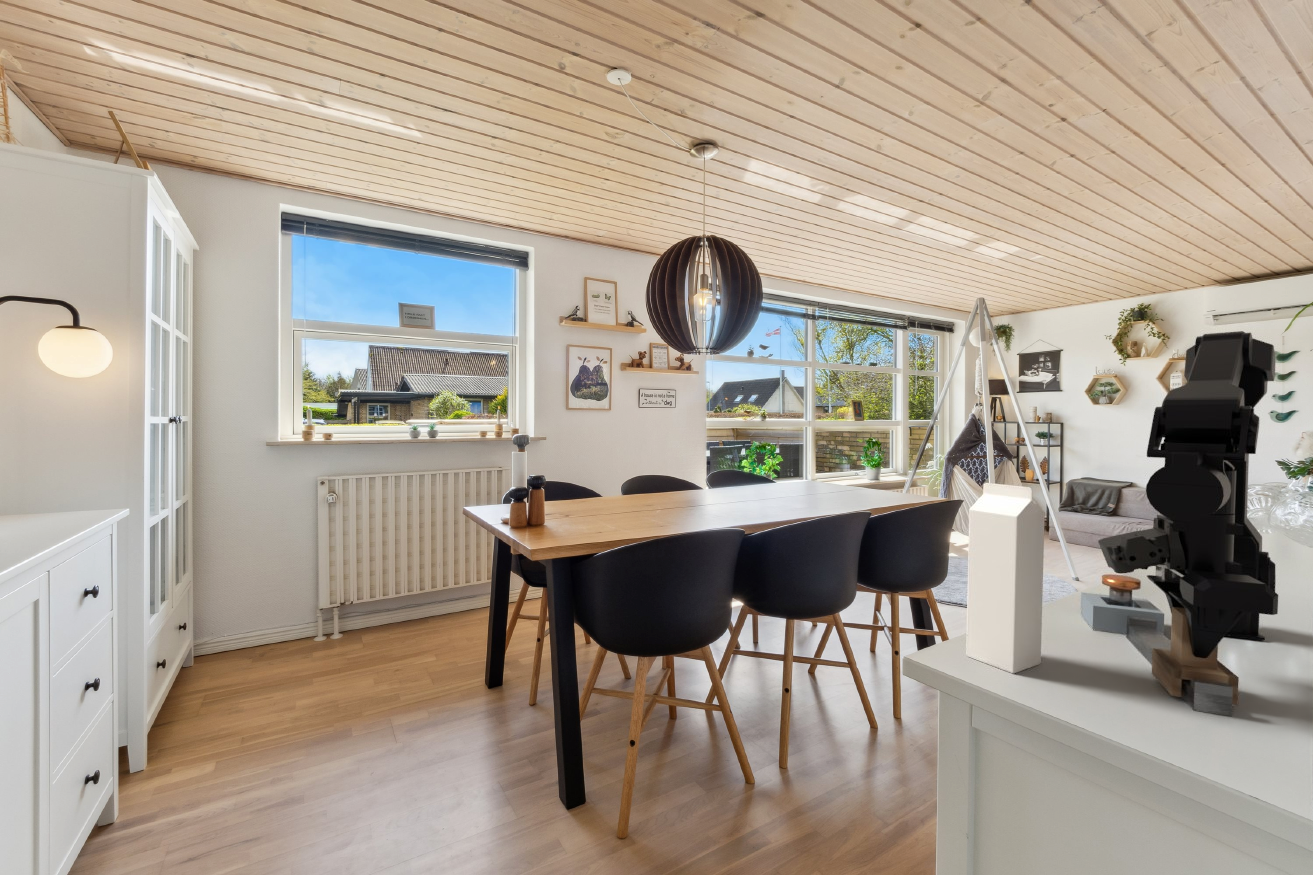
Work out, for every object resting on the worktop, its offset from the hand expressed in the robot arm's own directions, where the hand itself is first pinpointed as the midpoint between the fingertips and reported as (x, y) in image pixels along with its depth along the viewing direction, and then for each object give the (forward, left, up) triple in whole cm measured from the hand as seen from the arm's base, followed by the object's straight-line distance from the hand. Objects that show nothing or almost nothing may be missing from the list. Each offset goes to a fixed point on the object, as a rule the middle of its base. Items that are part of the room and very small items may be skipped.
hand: (1193, 651), depth 65 cm
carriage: (0, 0, -5) cm, 5 cm away
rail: (0, -6, -5) cm, 7 cm away
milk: (+18, -1, -5) cm, 19 cm away
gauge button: (+1, -22, -2) cm, 22 cm away
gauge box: (+1, -22, -5) cm, 22 cm away
